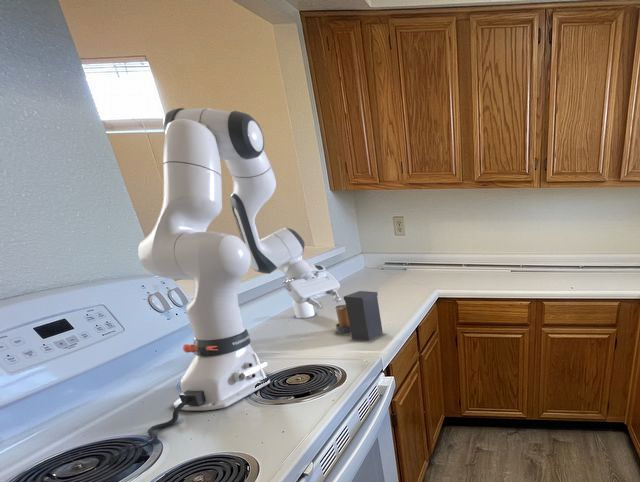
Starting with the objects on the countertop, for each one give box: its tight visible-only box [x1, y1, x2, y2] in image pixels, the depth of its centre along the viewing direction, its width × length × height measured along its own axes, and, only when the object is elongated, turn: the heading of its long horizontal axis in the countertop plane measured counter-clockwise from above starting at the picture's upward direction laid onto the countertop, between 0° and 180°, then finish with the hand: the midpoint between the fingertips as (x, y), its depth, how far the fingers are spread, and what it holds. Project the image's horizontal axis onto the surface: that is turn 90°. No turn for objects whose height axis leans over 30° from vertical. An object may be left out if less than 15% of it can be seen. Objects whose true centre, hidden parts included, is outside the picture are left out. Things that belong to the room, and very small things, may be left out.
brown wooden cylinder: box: [334, 304, 350, 327], centre depth 149 cm, size 5×5×9 cm
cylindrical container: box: [286, 255, 316, 319], centre depth 169 cm, size 7×7×25 cm
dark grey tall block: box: [343, 290, 384, 342], centre depth 142 cm, size 8×7×15 cm
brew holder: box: [335, 322, 351, 335], centre depth 151 cm, size 7×7×3 cm
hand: (330, 304), depth 149 cm, fingers open, 8 cm apart
